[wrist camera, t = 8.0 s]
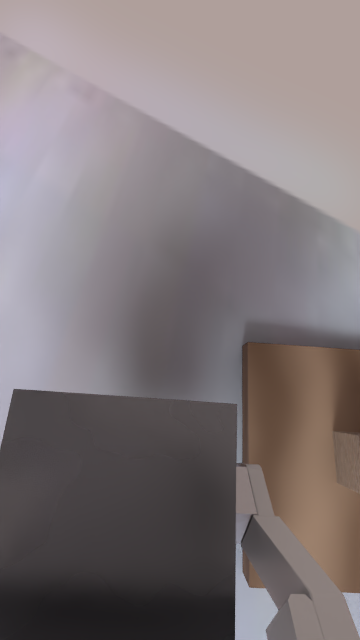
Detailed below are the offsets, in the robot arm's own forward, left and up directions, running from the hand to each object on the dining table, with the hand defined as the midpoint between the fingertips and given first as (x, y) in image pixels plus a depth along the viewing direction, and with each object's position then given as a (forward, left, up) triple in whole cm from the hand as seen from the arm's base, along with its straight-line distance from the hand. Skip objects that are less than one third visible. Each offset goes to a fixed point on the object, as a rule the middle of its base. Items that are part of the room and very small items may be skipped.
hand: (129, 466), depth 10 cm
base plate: (+13, 0, -10) cm, 17 cm away
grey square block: (0, -1, -4) cm, 4 cm away
